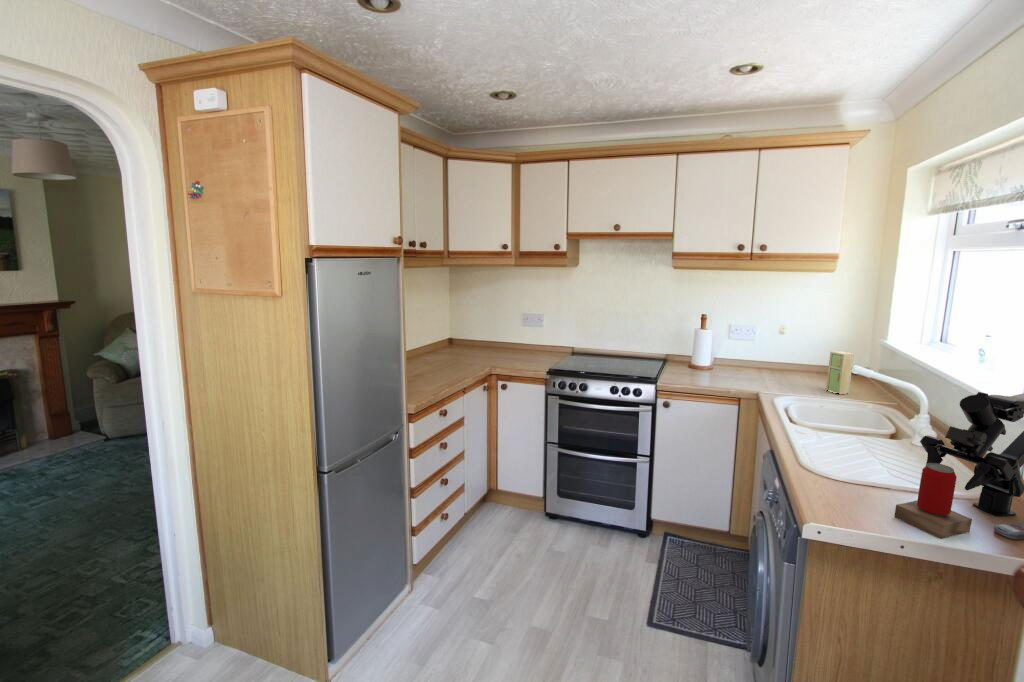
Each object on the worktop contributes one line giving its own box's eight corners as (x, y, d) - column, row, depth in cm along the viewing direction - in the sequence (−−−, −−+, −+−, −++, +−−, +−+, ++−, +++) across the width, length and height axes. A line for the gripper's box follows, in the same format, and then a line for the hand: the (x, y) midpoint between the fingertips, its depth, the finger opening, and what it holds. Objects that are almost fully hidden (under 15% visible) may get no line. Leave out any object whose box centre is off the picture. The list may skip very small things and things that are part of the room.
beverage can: (940, 507, 134) (948, 463, 133) (955, 519, 128) (964, 474, 126) (911, 503, 136) (917, 460, 134) (924, 515, 130) (932, 470, 128)
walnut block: (922, 511, 139) (924, 499, 139) (969, 532, 129) (972, 519, 129) (894, 517, 136) (896, 504, 135) (940, 538, 126) (942, 525, 125)
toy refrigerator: (824, 391, 266) (829, 351, 262) (834, 390, 268) (840, 350, 265) (837, 395, 258) (843, 354, 255) (848, 394, 261) (854, 353, 257)
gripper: (930, 406, 139) (895, 449, 137) (1015, 428, 122) (976, 478, 120) (945, 431, 143) (911, 473, 141) (1029, 456, 126) (992, 505, 124)
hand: (945, 481), depth 131 cm, fingers open, 9 cm apart
